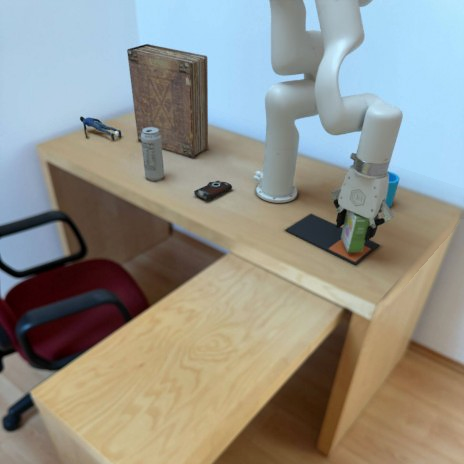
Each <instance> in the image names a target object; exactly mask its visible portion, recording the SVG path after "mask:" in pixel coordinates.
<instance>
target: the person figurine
mask: <svg viewBox="0 0 464 464" xmlns="http://www.w3.org/2000/svg"><path fill="white" fill-rule="evenodd" d="M79 121H80V122H82V124H83V130H84V135H85V137H86V138H88V134H87V127H89V128H90V127H91V128H94V130H96V131H98V132H101V133H104V134H106V135H108V136H110V138H111V141H112V142H113V141H115V136H116V137H118V138H121V137H122V131H121V129H117V128H115V127H113V126H108V125H106V124H104V123H103V122H102V121H100V120H99V119H98V118H95V117H84V116H80V117H79ZM110 131H112V132H110Z"/></svg>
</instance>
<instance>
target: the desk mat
mask: <svg viewBox="0 0 464 464" xmlns="http://www.w3.org/2000/svg"><path fill="white" fill-rule="evenodd" d="M342 230H343V226H341V227H339V228H336V224H335V223H332V222H330V221H329V220H326V219H325V218H322V217H320V216H317V215H315V214H313V213H310V214H308V215H306V216H304V218H302V219H300V220H298V221H297V222H295V223H294V224H292V225H290V226H289V227H287V228H286V229H285V232H287V233H289V234H290V235H293V236H295V237H296V238H299V239H301V240H303V241H305V242H307V243H309V244H312V245H313V246H315V247H317V248H319V249H321V250H323V251H325V252H328V253H329V254H331V255H334V256H335V257H338V258H340V259H342V260H343V261H346V262H348V263H350V264H351V265H354V266H356V265H358V264H359V263H360V262H361V261H363V260H364V259H365V258H366V257H368V256H369V255H370V254H371V253H372V252H374V251H375V250H377V248H379V246H380V244H379V243H377V242H375V241H373V240H371V239H369V240H368V241H365V243H364V246H363V251H362V252H351V253H350V252H347V250H346V248H345V245H344V243H343V241H342V239H341V235H342Z"/></svg>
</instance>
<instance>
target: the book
mask: <svg viewBox="0 0 464 464" xmlns="http://www.w3.org/2000/svg"><path fill="white" fill-rule="evenodd" d="M126 53H127V60H128V68H129V76H130V85H131V86H130V87H131V94H132V102H133V110H134V119H135V126H136V134H137V141H138V142H140V143H141V134H142V130H143V129H144V128H147V127H155V128H157V129H158V130H159V133H160V134H161V142H162V150H165V151H168V152H172V153H175V154H177V155H181V156H183V157H187V158H190V159H194V158H195V155H197V154H199V153H201V152H202V151H207V150H208V149H209V109H208V108H209V100H208V99H209V98H208V97H209V92H208V91H209V89H208V88H209V87H208V86H209V85H208V79H209V78H208V76H209V75H208V55H204V54H200V53H194V52H191V51H184V50H179V49H175V48H170V47H169V48H168V47H164V46H158V45H154V44H150V43H146V44H142V45H138V46H134V47H131V48H127V50H126Z"/></svg>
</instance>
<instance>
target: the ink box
mask: <svg viewBox="0 0 464 464" xmlns="http://www.w3.org/2000/svg"><path fill="white" fill-rule="evenodd" d="M372 211H373V210H372ZM368 226H370V221H369V218H365V217H363V216H360V215H358V214H356V213H353V212H351V211H349V210H347V212H346V216H345V221H344V225H342V228H343V230H342V235H341V239H342V241H343V243H344V245H345V248H346V250H347V252H350V253H351V252H362V251H363V246H364V243H365V236H366V232H367V228H368Z"/></svg>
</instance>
